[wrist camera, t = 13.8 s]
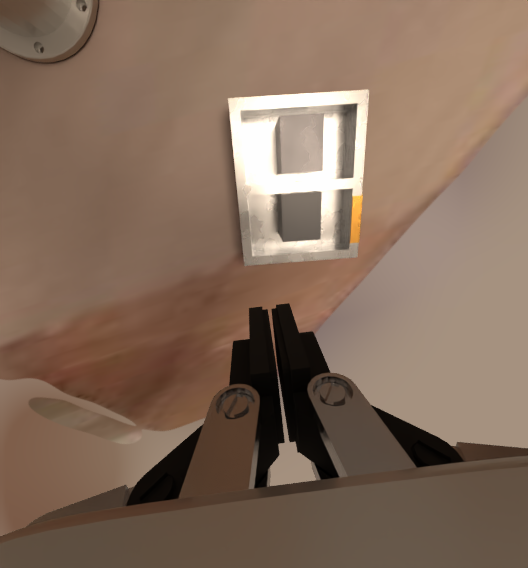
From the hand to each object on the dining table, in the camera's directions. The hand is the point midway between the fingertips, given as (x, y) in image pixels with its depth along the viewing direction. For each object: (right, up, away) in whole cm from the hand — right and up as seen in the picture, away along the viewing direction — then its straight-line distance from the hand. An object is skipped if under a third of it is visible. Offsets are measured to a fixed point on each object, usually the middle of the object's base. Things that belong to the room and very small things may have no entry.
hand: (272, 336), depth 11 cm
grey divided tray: (+3, +14, +20) cm, 24 cm away
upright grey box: (+3, +11, +20) cm, 23 cm away
